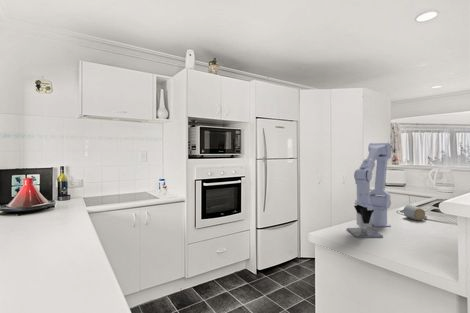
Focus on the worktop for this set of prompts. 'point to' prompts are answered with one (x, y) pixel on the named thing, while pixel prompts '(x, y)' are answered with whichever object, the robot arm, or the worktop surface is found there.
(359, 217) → the sleeve
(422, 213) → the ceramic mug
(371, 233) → the duct flange
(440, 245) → the worktop surface
